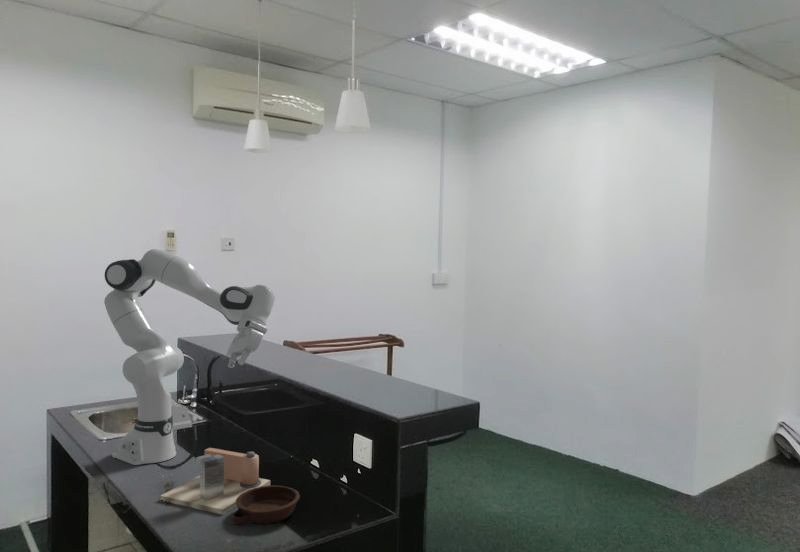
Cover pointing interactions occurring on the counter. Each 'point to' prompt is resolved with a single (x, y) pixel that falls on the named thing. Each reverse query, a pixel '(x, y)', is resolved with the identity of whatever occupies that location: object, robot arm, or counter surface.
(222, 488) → the block
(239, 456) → the link
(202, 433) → the counter surface
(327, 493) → the counter surface
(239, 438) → the counter surface
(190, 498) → the base board
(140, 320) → the robot arm
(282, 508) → the dish
